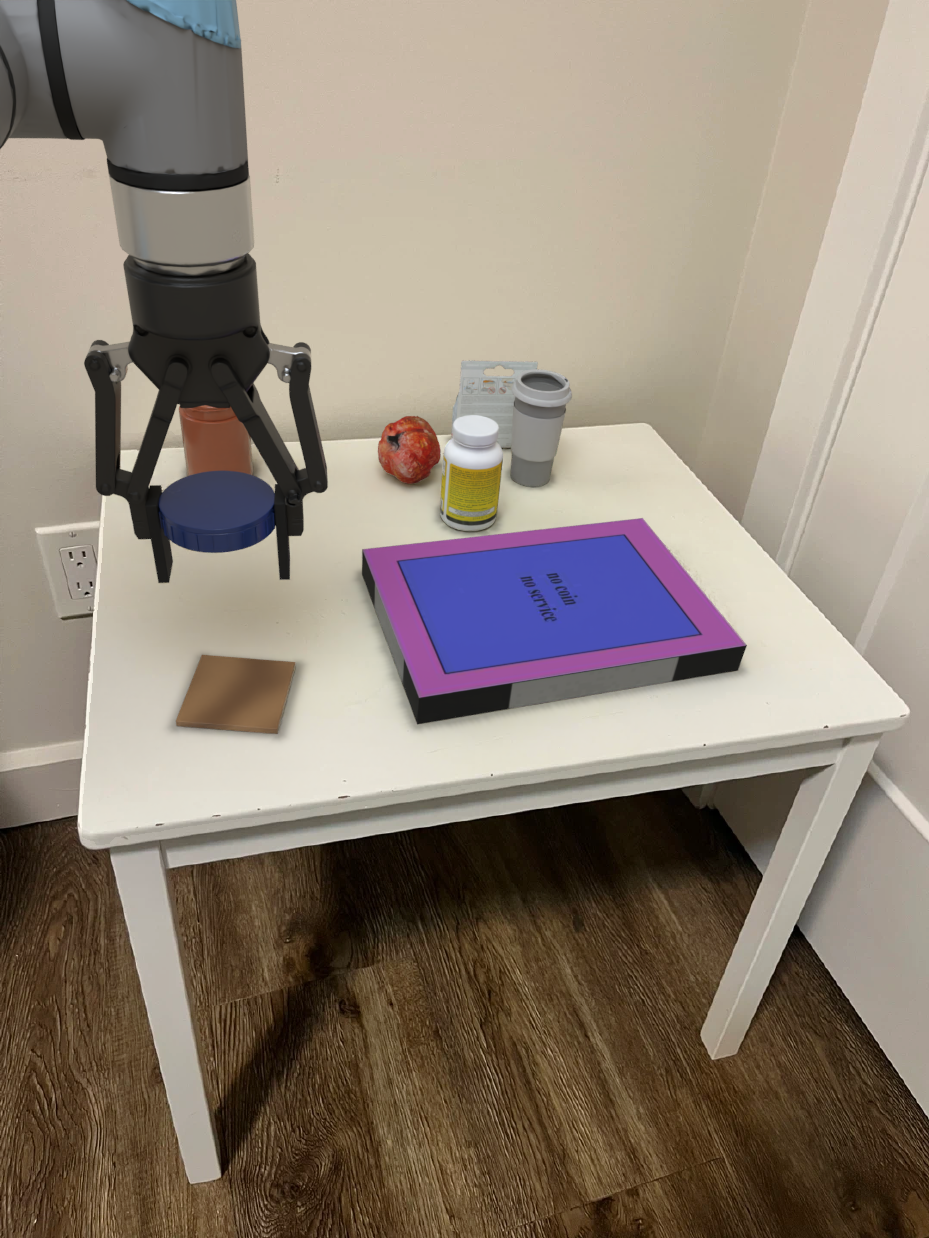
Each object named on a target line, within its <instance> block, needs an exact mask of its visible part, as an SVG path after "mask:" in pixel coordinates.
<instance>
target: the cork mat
mask: <svg viewBox="0 0 929 1238" xmlns="http://www.w3.org/2000/svg"><path fill="white" fill-rule="evenodd" d="M296 664H297V663H296V661H287V660H273V659H262V658H250V657H249V658H248V657H237V656H224V655H212V654H211V655H210V654H201V656H200V659H199V661H198V663H197V666H196V669H195V671H194V674H193V675H192V677H191V681H190V683H189V686H188V689H187V691H186V693H185V697H184V699H183V701H182V704H181V706H180V708H179V711H178V713H177V717H176V719H175V726H176V727H181V728H182V727H183V728H196V729H207V730H209V729H210V730H220V731H221V730H222V731H235V732H236V731H237V732H246V733H248V732H249V733H260V734H273V735H274V734H275V735H278V734H279V730H280V726H281V724H282V723H281V722H282V719H283V716H284V712H285V708H286V704H287V700H288V698H289V693H290V690H291V685H292V682H293V678H294V674H295V671H296Z"/></svg>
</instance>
